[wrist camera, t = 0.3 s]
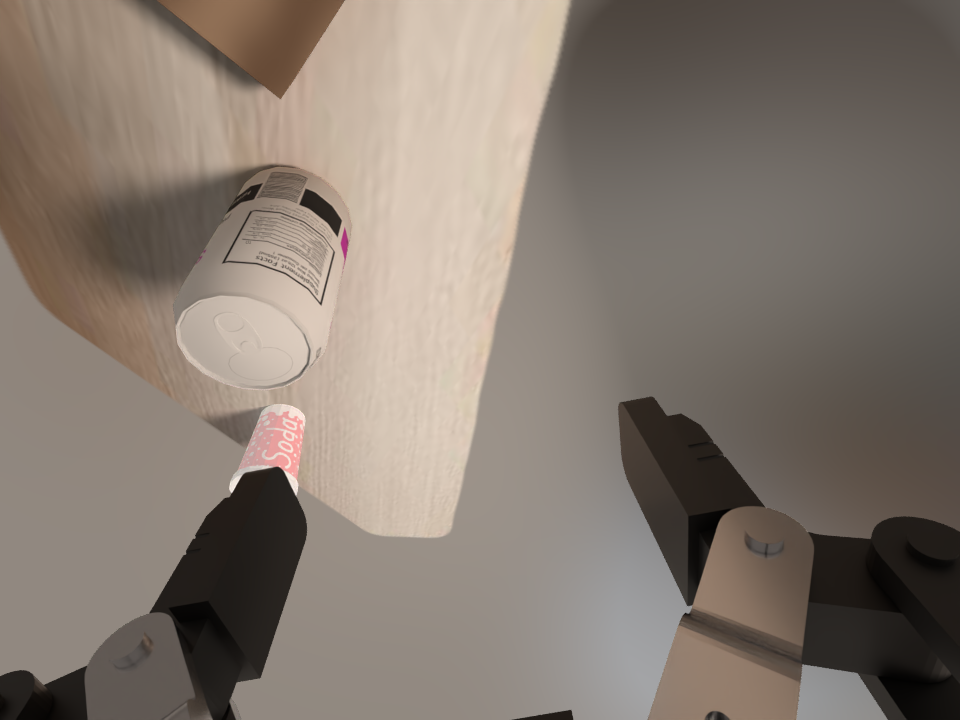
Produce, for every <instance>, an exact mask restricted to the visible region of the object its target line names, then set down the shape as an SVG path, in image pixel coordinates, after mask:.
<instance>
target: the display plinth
mask: <svg viewBox="0 0 960 720" xmlns="http://www.w3.org/2000/svg"><path fill="white" fill-rule="evenodd" d="M157 1H158V2H159V3H161V4H162V5H163V6H164V7H166V8H167V9H168V10H169V11H171V12H172V13H173V14H174V15H176V16H177V17H178V18H179V19H181V20H182V21H183V22H184V23H186V24H187V25H188V26H190V27H191V28H192V29H193V30H195V31H196V32H197V33H198V34H200V35H201V36H202V37H203V38H205V39H206V40H207V41H208V42H210V43H211V44H212V45H213V46H215V47H216V48H217V49H218V50H220V51H221V52H222V53H223V54H225V55H226V56H227V57H228V58H230V59H231V60H232V61H233V62H235V63H236V64H237V65H238V66H240V67H241V68H242V69H243V70H245V71H246V72H247V73H248V74H250V75H251V76H252V77H253V78H255V79H256V80H257V81H258V82H260V83H261V84H262V85H263V86H265V87H266V88H267V89H268V90H270V91H271V92H272V93H273V94H275V95H276V96H277V97H278V98H280V99H281V98H282V96H283V95H284V93H285V92H286V90H287V89H288V88H289V86H290V85H291V83H292V82H293V80H294V79H295V77H296V76H297V74H298V72H299V71H300V69H301V68H302V66H303V65H304V63H305V62H306V60H307V58H308V57H309V55H310V54H311V52H312V51H313V49H314V47H315V46H316V44H317V43H318V41H319V40H320V38H321V37H322V35H323V33H324V32H325V30H326V29H327V27H328V26H329V24H330V22H331V21H332V19H333V18H334V16H335V15H336V13H337V12H338V10H339V8H340V7H341V5H342V4H343V2H344V1H345V0H157Z"/></svg>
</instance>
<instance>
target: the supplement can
mask: <svg viewBox="0 0 960 720" xmlns="http://www.w3.org/2000/svg"><path fill="white" fill-rule="evenodd" d="M351 229H352V223H351V219H350V214H349V210H348V207H347V206H346V204H345V203H344V201H343V199H342V198H341V196H340V195H339V193H338V192H337V191H336V190H335V189H334V188H333V187H332V186H330V185H329V184H328V183H327V182H326V181H324V180H323V179H322V178H321V177H319V176H316V175H314V174H312V173H309V172H307V171H305V170H302V169H299V168H289V167H275V168H271V169H267V170H263V171H259V172H258V173H257V174H255V175H254V176H253V177H252V178H250V179H249V180H248V181H247V182H245V184H244V185H243V187H242V189H241V190H240V192H239V194H238V195H237V197H236V199H235V200H234V202H233V203H232V205H231V207H230V208H229V210H228V212H227V213H226V215H225V216H224V218H223V220H222V221H221V223H220V225H219V226H218V228H217V229H216V231H215V233H214V234H213V236H212V238H211V239H210V241H209V242H208V244H207V246H206V247H205V249H204V251H203V252H202V254H201V255H200V257H199V259H198V260H197V262H196V264H195V265H194V267H193V268H192V270H191V272H190V273H189V275H188V277H187V278H186V280H185V282H184V283H183V285H182V286H181V288H180V291H179V293H178V295H177V297H176V299H175V302H174V304H173V310H174V318H175V326H176V336H177V344H178V345H179V347H180V349H181V350H182V352H183V354H184V355H185V357H186V358H187V360H188V361H189V362H190V363H192V364H193V365H194V366H195V367H196V368H197V369H199V370H200V371H201V372H202V373H203V374H205V375H207V376H209V377H211V378H213V379H215V380H217V381H219V382H221V383H223V384H226V385H230V386H234V387H238V388H242V389H246V390H272V389H276V388H281V387H286V386H288V385H290V384H292V383H293V382H295V381H297V380H299V379H300V378H302V376H303V375H304V374H305V372H306V371H307V370H309V369H310V368H311V367H313V366H314V365H315V364H316V363H317V361H318V360H319V359H320V357H321V356H322V355H323V353H324V352H325V350H326V346H327V341H328V337H329V332H330V328H331V323H332V319H333V314H334V309H335V305H336V300H337V296H338V291H339V287H340V282H341V278H342V273H343V269H344V264H345V260H346V255H347V251H348V246H349V241H350V235H351Z"/></svg>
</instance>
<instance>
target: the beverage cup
mask: <svg viewBox="0 0 960 720" xmlns="http://www.w3.org/2000/svg"><path fill="white" fill-rule="evenodd" d="M305 420H306V419H305V417H304V414H303V413H302V412H301V411H300V410H299V409H297V408H295V407H292V406H289V405H284V404H273V405H271V406H268V407H266V408H265V409H264V410H263V411H262V412H261V415H260V417H259V420H258V422H257V425H256V427H255V430H254V432H253V434H252V437H251V439H250V442H249V444H248V447H247V449H246V452H245V454H244V457H243V459H242V462H241V464H240V467H239V469H238V471H237V472H236V473H235V474H234V475H233V479H231V482H230V488H229V489H230V491H231V493H232V492H233V490H234V489H235V487H236V485H237V483H238V482H239V480H240V478H241V476H242V475H243V474H244V473H246V472H250V471H256V470H261V469H266V468H271V467H280V468H281V469H282V470H283V471H284V472H285V474H286V476H287V478H288V481H289V483H290V485H291V487H292V489H293V491H294V493H295V495H297V491H298V489H297V488H298V482H297V475H298V468H299V461H300V454H301V447H302V441H303V434H304V427H305Z"/></svg>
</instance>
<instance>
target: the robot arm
mask: <svg viewBox="0 0 960 720" xmlns="http://www.w3.org/2000/svg"><path fill="white" fill-rule="evenodd" d="M618 411H619V426H620V441H621V455H622V462H623V467H624V470H625V474H626V477H627V480H628V482H629V484H630V486H631V489H632V491H633V493H634V495H635V497H636V499H637V501H638V503H639V505H640V507H641V510H642V512H643V514H644V516H645V518H646V520H647V522H648V524H649V526H650V528H651V531H652V533H653V535H654V537H655V539H656V541H657V543H658V545H659V547H660V549H661V551H662V554H663V556H664V558H665V560H666V562H667V564H668V566H669V568H670V570H671V573H672V575H673V577H674V579H675V581H676V583H677V585H678V587H679V589H680V591H681V593H682V596H683V598H684V600H685V602H686V604H687V606H691V605H693V606H692V609H691V611H690V613H689V614H687V613H685V614H684V615H683V616H682V618H681V620H680V623H679V625H678V628H677V631H676V634H675V637H674V640H673V643H672V646H671V649H670V652H669V655H668V658H667V662H666V665H665V668H664V671H663V674H662V677H661V680H660V683H659V686H658V689H657V692H656V695H655V698H654V701H653V704H652V707H651V711H650V714H649V717H648V720H796V718H797V709H798V701H799V692H800V683H801V674H802V664H804V665H811V666H817V667H823V668H829V669H836V670H842V671H848V672H855V673H858V674H859V676H860V677H861V679H862V680H863V682H864V684H865V685H866V687H867V688H868V690H869V691H870V693H871V694H872V696H873V697H874V699H875V700H876V702H877V704H878V705H879V707H880V708H881V709H882V711H883V713H884V714H885V716H886V717H887V719H888V720H960V532H959V531H957V530H955V529H953V528H951V527H948V526H946V525H944V524H941V523H938V522H935V521H932V520H928V519H924V518H916V517H894V518H889V519H887V520H884V521H882V522H880V523H879V524H877V526H876V527H875V528H874V530H873V532H872V537H871V539H863V538H851V537H839V536H827V535H819V534H814V533H810V532H807V531H806V529H805V528H804V527H803V526H802V525H801V524H800V523H799V522H797V521H796V520H794V519H793V518H791V517H790V516H788V515H786V514H784V513H782V512H779V511H777V510H773V509H770V508H766V507H765V506H764V505H763V504H762V502H761V501H760V500H759V499H758V497H757V496H756V495H755V494H754V492H753V491H752V490H751V488H750V487H749V486H748V485H747V483H746V482H745V481H744V480H743V478H742V477H741V476H740V474H738V472H737V471H736V469H735V468H734V467H733V466H732V464H731V463H730V462H729V461H728V459H727V458H726V457H724V456H723V453H722V452H721V450H720V449H719V448H718V446H716V444H714V443H713V440H712V439H711V438H710V436H709V435H708V434H707V433H706V431H705V430H704V429H703V428H702V426H701V425H699V424H698V423H696V422H694V421H693V420H691V419H689V418H688V417H686V416H684V415H682V414H677V415H672V416H667V415H666V414H665V413H664V411H663V410H662V408H661V407H660V406H659V404H658V403H657V401H656V400H655V398H653V397H647V398H642V399H636V400H631V401H626V402H620V403H619V406H618ZM195 536H196V538H195V539H193V540H192V542H191V543H190V545H189V547H188V549H187V550H186V555H184V556H183V557H182V559H181V560H180V562H179V564H178V566H177V567H176V569H175V571H174V572H173V574H172V576H171V577H170V579H169V581H168V582H167V584H166V586H165V588H164V589H163V591H162V593H161V594H160V596H159V598H158V600H157V601H156V603H155V605H154V606H153V608H152V610H151V611H150V613H149V614H146V615H143V616H140V617H139V618H136V619H134V620H132V621H130V622H129V623H127V624H125V625H124V626H122V627H121V628H119V629H118V630H117V631H116V632H114V633H113V634H112V635H111V636H110V637H109V638H108V639H107V640H105V642H104V643H103V644H102V645H101V646H100V647H99V648H98V650H97V651H96V652H95V653H94V655H93V657H92V658H91V660H90V662H89V664H88V665H87V666H85V667H83V668H81V669H78V670H76V671H74V672H72V673H70V674H67V675H65V676H63V677H61V678H58V679H56V680H54V681H52V682H49V683H48V684H45V685H43V684H42V683H41V682H40V681H39V680H38V679H37V678H36V677H35V676H33V674H32V673H30V672H28V671H24V670H23V671H22V670H19V671H14V672H10V673H7V674H4V675H2V676H0V720H241V717H240V714H239V711H238V709H237V706H236V704H235V703H234V701H233V700H232V698H231V696H232V693H233V690H234V688H235V685H236V682H241V681H247V680H253V679H258V678H261V675H262V672H263V669H264V665H265V663H266V660H267V657H268V654H269V650H270V647H271V644H272V641H273V638H274V635H275V632H276V629H277V626H278V623H279V620H280V617H281V614H282V611H283V608H284V605H285V602H286V599H287V596H288V593H289V589H290V587H291V583H292V580H293V577H294V574H295V571H296V568H297V565H298V562H299V559H300V556H301V553H302V550H303V547H304V544H305V540H306V536H307V523H306V518H305V515H304V512H303V510H302V508H301V506H300V504H299V501H298V499H297V497H296V495H295V493H294V491H293V489H292V487H291V485H290V483H289V481H288V478H287V476H286V474H285V472H284V471H283V470H282V469H281V468H280V467H271V468H266V469H261V470H256V471H250V472H246V473H244V474H243V475H242V476H241V478H240V480H239V482H238V483H237V485H236V487H235V489H234V490H233V492H232V494H231V496H230V497H229V498H225V499H223V500H222V501H221V502H220V504H218V505H217V506H216V507H215V508H214V509H213V510H212V511H211V512H210V513H209V514H208V515H207V516H206V518H205V520H204V522H203V523H202V525H201V526H200V528H199V530H198V531H197V533H196V535H195ZM514 720H573V716H572V711H571V710H568V711H562V712H556V713H550V714H544V715H538V716H532V717H526V718H520V719H514Z"/></svg>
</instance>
